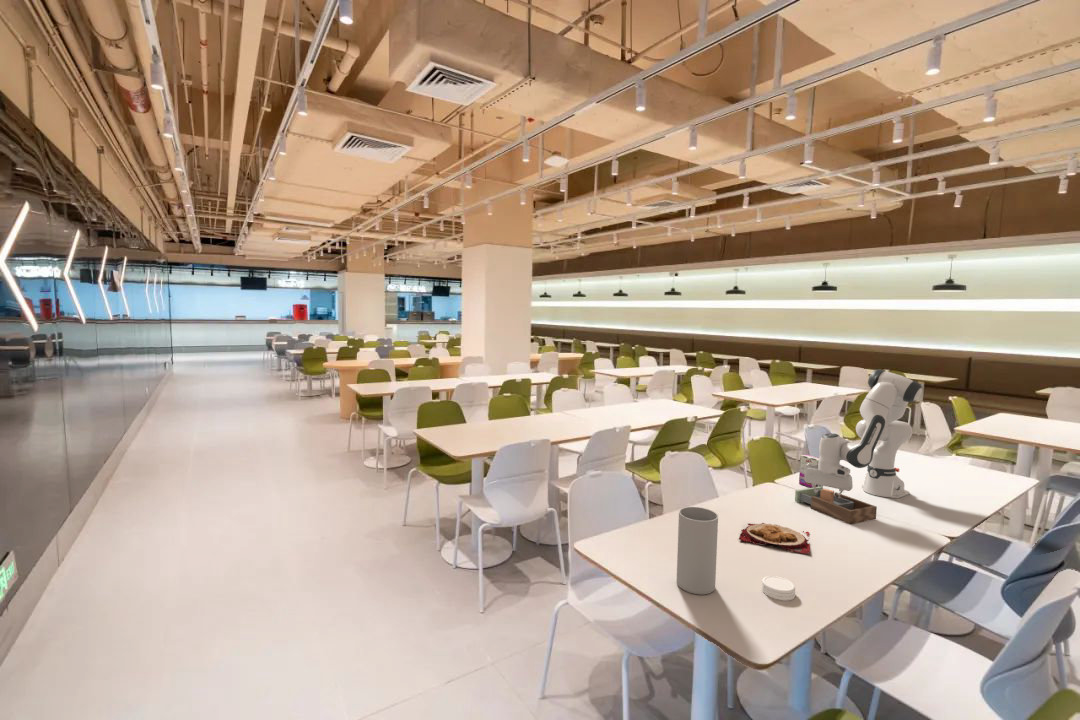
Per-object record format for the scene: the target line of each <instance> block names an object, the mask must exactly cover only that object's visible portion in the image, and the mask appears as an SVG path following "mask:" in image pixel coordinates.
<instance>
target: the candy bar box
mask: <svg viewBox="0 0 1080 720" xmlns="http://www.w3.org/2000/svg"><path fill="white" fill-rule="evenodd" d="M799 458H800V460H799V473H798V474H799V475H798V476H799V478H798V484H799V485H801V486H804V487H806V488H813V487H812V483H807V482H805V480H804V477H805V472H806V471H805V465H807V464H813V465H818V461H819V457H816V456H812V455H810V454H801V455H800V457H799ZM816 487H822V489H824V486H822V485H817V484H816Z"/></svg>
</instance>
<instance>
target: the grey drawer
mask: <svg viewBox="0 0 1080 720" xmlns="http://www.w3.org/2000/svg"><path fill="white" fill-rule="evenodd" d="M816 488H817V489H818V493H814V488H810V487H806V488H801V489H796V490H795V492H794V494H795V495H794V502H796V503H800V502H803V503H806V504H809V505H811V498H812V496H814V497H817V498H820V492H821V490H822V487H816ZM833 504H836V505H838V506H841V507H843V508H846V509H849V510H854V502H852V501H849V500H846V499H843V498H841V497H840V498H836V496H835V494H834V502H833Z"/></svg>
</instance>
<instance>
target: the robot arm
mask: <svg viewBox="0 0 1080 720" xmlns="http://www.w3.org/2000/svg"><path fill="white" fill-rule="evenodd" d="M867 385H868V387H869V388H870V390H869V392H868V393H867V394H866V396H865V397H864V399H863V401H862V403H861V404H860V407H859V413H860V416H861V417H862V419H861V420H859V421H858V422H857V423H856V426H855V431H856V435H857V436H858V438H861V439H860V441H859V442H858V443H855V442H853V441H851V440H847V439H846V438H844V437H842V436H840V434H838V433H825V434H822V436H821V438H820V439H819V440H820V441H819V445H818V446H819V448H818V453H819V457H818V458H819V461H818V465H813V464H807V465H805V471H806V472H805V477H804V480H805V482H807V483H812V487H813V488H814V493H818V489H817V488H816V484H817V485H822V486H823V487H828V488H832V489H837V490H839V492H837V494H836V498H840V494H842V493H844V491H847V492H850V491H851V490H852V489H853V487H854V486H853V477H852V475H851V469H850V468H849V467H846V466H845V465H842V464H841V463H840V462H841V461H844V462H846V463H848V464H849V465H851V466H853V467H854V468H857V469H863V468H867V470H866V471H867V472H866V473H865V476H864V480H863V484H862V485H861V488H862V489H863V491H864V492H865V493H868V494H869V495H872V496H873V495H874V496H878V497H884V498H892V499H901V498H903V497H905V496H908V495H909V494H911V493H910V491H909V490H907V489H905V482H904V481H903V480H902V479H901V478H900V477H899V476H898V475H897V473H899V472H900V468H898V467H895V461H896V455H897V453H898V450H899V449H900V448H901V446H902V445H903V444H904V443H905V442H907V441H909V440H910V439H911V437H912V436H913V428H912V426H911V425H910V424H909V423H908V422H906V421H901V420H899V419H902V418H903V416H904V414H905V412H906V409H907V407H908V404H909V403H913V402H917V400H918V399H919V398H920V397H921V396H922V393H923V386H922V384H921V383H919V382H918V381H916V380H912V379H910V378H908V377H906V376H905V375H901V374H897V373H894V372H890V371H887V370H885V369H879V368H877V369H874V370H873V371H872V372H871V374H870V375H869V376H868V380H867ZM878 442H880V443H879V444H878Z"/></svg>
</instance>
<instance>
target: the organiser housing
mask: <svg viewBox="0 0 1080 720" xmlns="http://www.w3.org/2000/svg"><path fill="white" fill-rule="evenodd" d="M837 493H838V491H837V492H834V495H835V496H836V494H837ZM840 497H841V498H843V499H846V500H849V501H852V502H854V510H849V509H846V508H843V507H841V506H838V505H836V504H833V503H830V502H828V501H825V500H822V499H820V498H817V497H814V496H812V498H811V504H810V509H811V510H814V511H816V512H819V513H821V514H823V515H826V516H829V517H831V518H833V519H836V520H837V521H838V520H839V521H841V522H843V523H845V524H847V525H848V524H849V525H853V524H854V525H855V524H859V523H865V522H870V521H875V520H877V509H878V506H876V505H874V504H870V503H867V502H866V501H863V500H860V499H856V498H853V497H851V496H848V495H845V494H842V493H841V494H840Z"/></svg>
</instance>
